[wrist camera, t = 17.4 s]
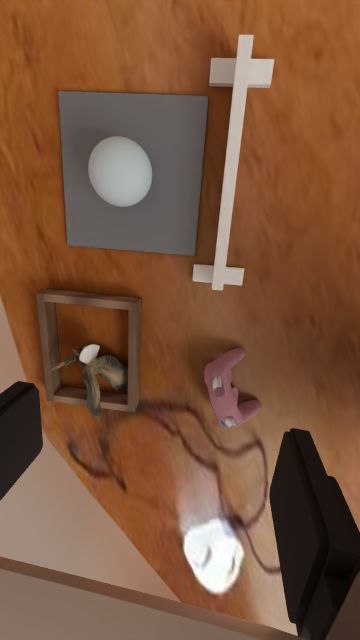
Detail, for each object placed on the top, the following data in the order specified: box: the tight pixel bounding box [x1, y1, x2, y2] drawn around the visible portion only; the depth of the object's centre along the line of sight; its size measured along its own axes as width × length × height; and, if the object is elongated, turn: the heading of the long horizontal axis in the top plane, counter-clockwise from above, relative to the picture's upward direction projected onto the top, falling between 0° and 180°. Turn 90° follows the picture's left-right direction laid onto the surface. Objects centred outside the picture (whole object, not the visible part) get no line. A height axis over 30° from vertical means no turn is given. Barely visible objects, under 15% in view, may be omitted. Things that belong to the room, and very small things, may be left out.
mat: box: [58, 91, 208, 256], centre depth 33 cm, size 16×16×1 cm
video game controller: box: [204, 348, 262, 428], centre depth 37 cm, size 10×5×7 cm, turn 19°
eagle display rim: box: [36, 289, 142, 412], centre depth 39 cm, size 13×16×2 cm
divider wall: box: [193, 35, 274, 291], centre depth 30 cm, size 6×22×4 cm, turn 176°
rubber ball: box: [88, 136, 152, 207], centre depth 29 cm, size 6×6×6 cm
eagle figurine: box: [51, 344, 128, 418], centre depth 39 cm, size 8×7×9 cm
